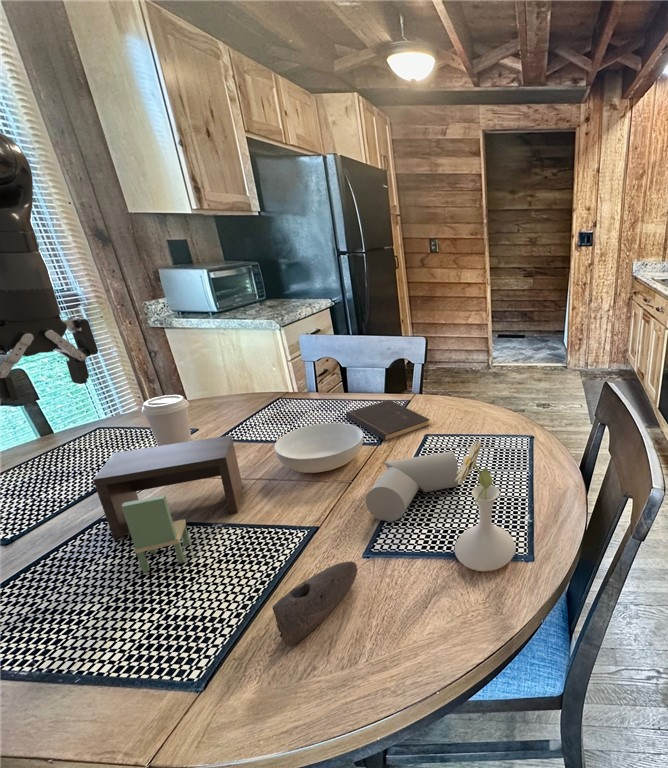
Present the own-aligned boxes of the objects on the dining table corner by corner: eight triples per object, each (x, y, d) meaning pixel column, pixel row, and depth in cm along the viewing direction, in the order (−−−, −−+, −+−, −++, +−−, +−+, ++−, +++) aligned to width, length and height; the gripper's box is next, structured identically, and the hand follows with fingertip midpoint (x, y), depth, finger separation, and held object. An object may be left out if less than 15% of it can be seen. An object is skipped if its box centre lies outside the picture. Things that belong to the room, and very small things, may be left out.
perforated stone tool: (347, 575, 73) (343, 542, 70) (369, 587, 70) (366, 554, 68) (265, 644, 60) (257, 607, 58) (288, 661, 58) (281, 623, 56)
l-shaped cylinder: (395, 465, 106) (357, 513, 87) (401, 429, 102) (363, 471, 83) (461, 485, 105) (437, 538, 86) (470, 449, 101) (447, 496, 83)
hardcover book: (390, 405, 146) (389, 399, 145) (430, 425, 131) (429, 419, 131) (346, 418, 135) (345, 412, 134) (385, 442, 120) (384, 434, 119)
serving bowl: (382, 453, 114) (380, 431, 111) (319, 493, 95) (315, 467, 93) (326, 437, 122) (323, 416, 119) (259, 471, 104) (254, 446, 101)
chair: (184, 565, 74) (165, 497, 69) (141, 576, 71) (118, 507, 67) (191, 542, 79) (174, 479, 74) (151, 552, 76) (131, 487, 72)
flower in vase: (471, 528, 85) (471, 417, 77) (523, 543, 82) (529, 428, 73) (438, 572, 74) (434, 447, 66) (497, 592, 70) (500, 462, 62)
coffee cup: (145, 457, 108) (129, 404, 103) (182, 441, 116) (169, 391, 112) (172, 464, 105) (157, 409, 100) (208, 447, 114) (196, 396, 109)
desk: (238, 513, 88) (225, 457, 83) (114, 541, 79) (92, 479, 74) (242, 487, 97) (231, 434, 92) (132, 509, 88) (114, 452, 84)
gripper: (-41, 291, 51) (3, 412, 57) (92, 282, 65) (117, 380, 70) (-84, 286, 53) (-37, 403, 58) (55, 278, 66) (83, 374, 71)
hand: (47, 391), depth 64 cm, fingers open, 8 cm apart
